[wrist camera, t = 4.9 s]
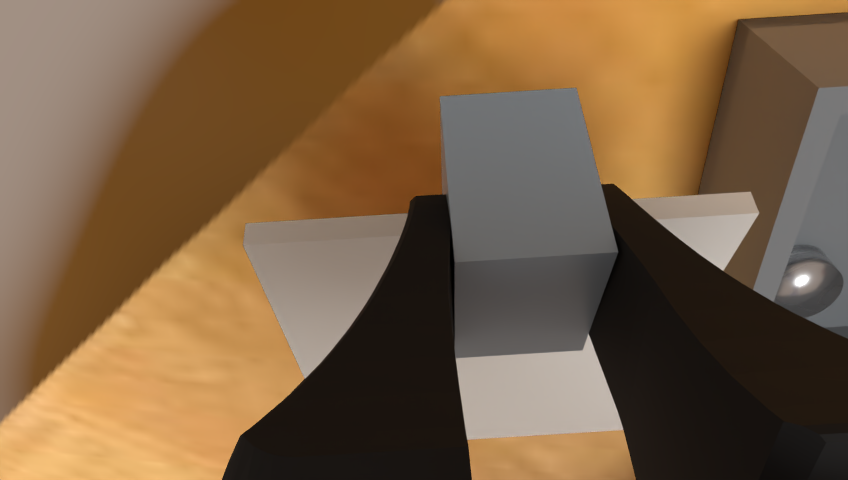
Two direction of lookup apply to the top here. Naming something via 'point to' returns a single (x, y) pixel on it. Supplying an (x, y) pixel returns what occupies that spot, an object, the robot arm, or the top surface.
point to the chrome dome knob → (808, 282)
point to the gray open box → (786, 148)
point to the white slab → (496, 262)
